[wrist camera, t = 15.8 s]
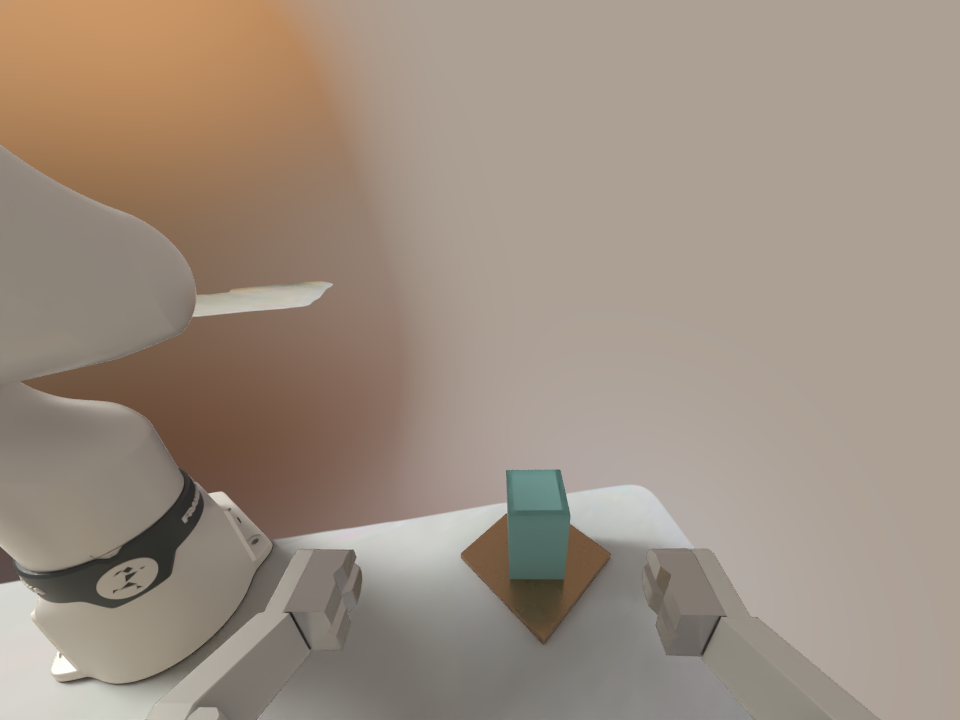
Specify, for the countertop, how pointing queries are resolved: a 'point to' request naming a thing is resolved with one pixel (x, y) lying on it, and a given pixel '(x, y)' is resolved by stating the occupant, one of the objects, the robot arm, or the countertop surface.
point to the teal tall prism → (537, 524)
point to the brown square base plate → (536, 598)
